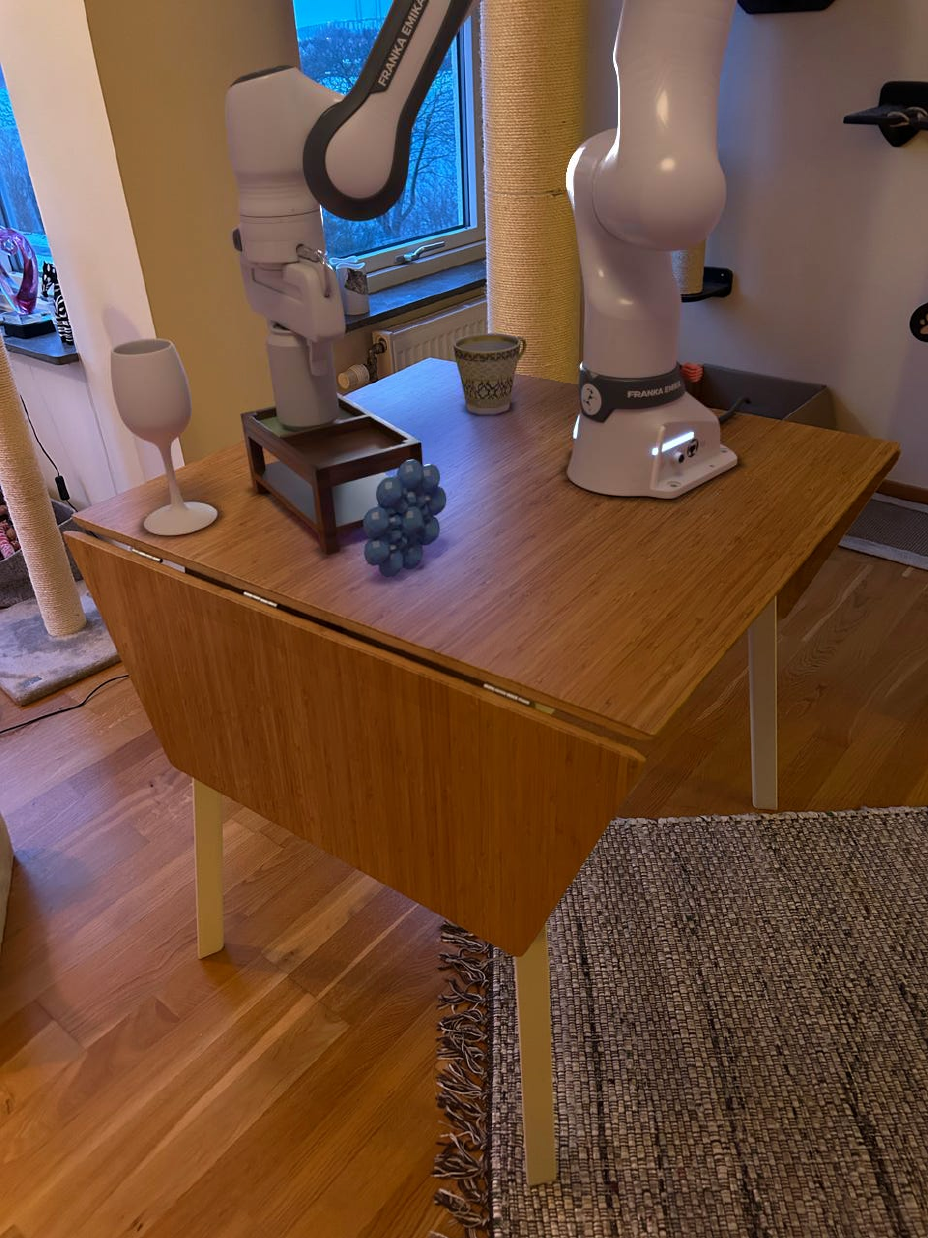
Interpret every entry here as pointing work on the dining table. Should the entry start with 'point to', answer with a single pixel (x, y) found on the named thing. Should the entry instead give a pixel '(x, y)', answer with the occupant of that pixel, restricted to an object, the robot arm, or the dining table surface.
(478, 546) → the dining table surface
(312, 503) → the tray
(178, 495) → the wineglass
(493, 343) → the ceramic cup
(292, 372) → the can
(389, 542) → the grapes
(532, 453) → the dining table surface
